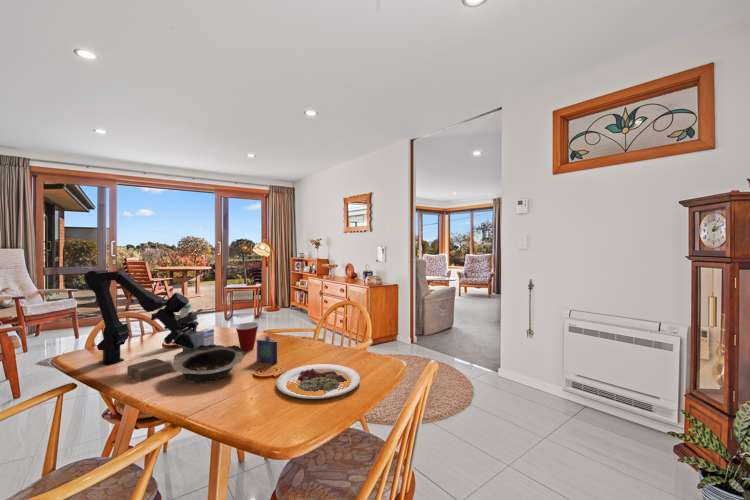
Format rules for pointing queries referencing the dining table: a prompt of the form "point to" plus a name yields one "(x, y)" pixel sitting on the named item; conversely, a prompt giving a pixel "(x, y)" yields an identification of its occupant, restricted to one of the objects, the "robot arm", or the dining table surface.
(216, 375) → the stone bowl
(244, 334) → the plastic cup
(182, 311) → the milk bottle
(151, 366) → the walnut block
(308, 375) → the plated food
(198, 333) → the slate tin
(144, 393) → the dining table surface
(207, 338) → the medicine box
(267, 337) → the flask
